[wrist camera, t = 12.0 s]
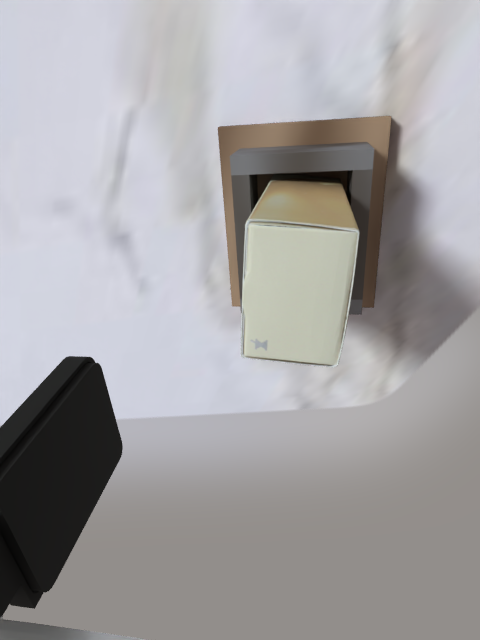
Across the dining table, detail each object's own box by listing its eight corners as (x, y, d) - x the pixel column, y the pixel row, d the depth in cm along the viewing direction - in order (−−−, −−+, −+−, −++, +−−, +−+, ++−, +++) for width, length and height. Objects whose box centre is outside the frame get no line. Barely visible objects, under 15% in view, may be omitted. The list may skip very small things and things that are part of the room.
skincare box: (329, 271, 29) (339, 376, 18) (265, 265, 29) (238, 365, 18) (343, 171, 25) (365, 228, 15) (271, 167, 26) (243, 219, 15)
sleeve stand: (389, 115, 24) (402, 120, 21) (372, 302, 30) (380, 332, 26) (220, 126, 26) (204, 132, 22) (234, 301, 32) (223, 329, 28)
